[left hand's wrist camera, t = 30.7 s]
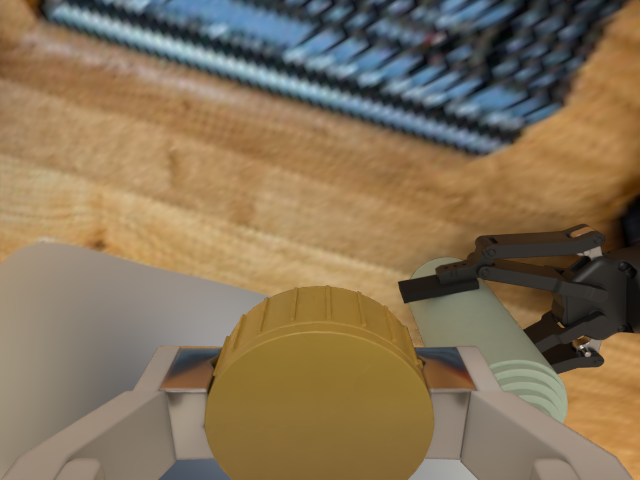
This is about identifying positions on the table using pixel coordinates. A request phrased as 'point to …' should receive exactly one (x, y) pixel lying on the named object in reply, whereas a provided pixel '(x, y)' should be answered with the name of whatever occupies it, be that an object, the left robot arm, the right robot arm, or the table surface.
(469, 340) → the bottle
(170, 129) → the table surface
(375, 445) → the cap
